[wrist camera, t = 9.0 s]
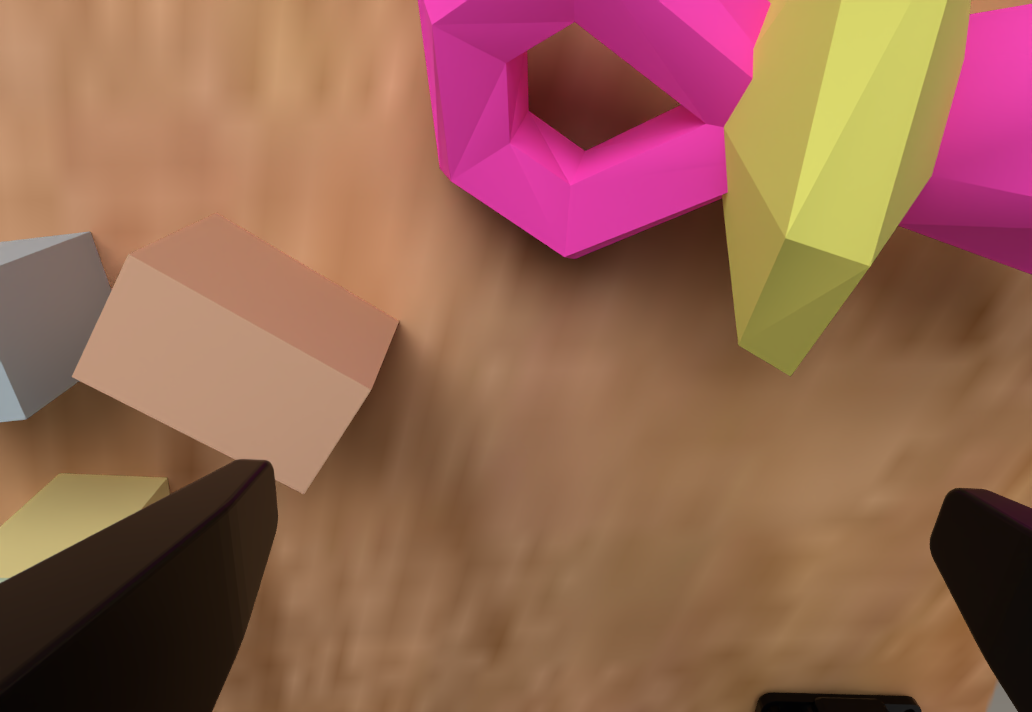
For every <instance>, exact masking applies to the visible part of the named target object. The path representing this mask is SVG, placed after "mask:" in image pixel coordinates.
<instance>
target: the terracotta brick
mask: <svg viewBox="0 0 1032 712" xmlns="http://www.w3.org/2000/svg"><path fill="white" fill-rule="evenodd" d="M398 323H399V321H398V320H397V319H395V318H393V317H392V316H390V315H388V314H386V313H385V312H383V311H381V310H380V309H378V308H376V307H375V306H373V305H371V304H370V303H368V302H366V301H365V300H363V299H361V298H359V297H358V296H356V295H354V294H353V293H351V292H349V291H348V290H346V289H344V288H343V287H341V286H339V285H338V284H336V283H334V282H332V281H331V280H329V279H327V278H326V277H324V276H322V275H321V274H319V273H317V272H316V271H314V270H312V269H311V268H309V267H307V266H305V265H304V264H302V263H300V262H299V261H297V260H295V259H294V258H292V257H290V256H289V255H287V254H285V253H284V252H282V251H280V250H278V249H277V248H275V247H273V246H272V245H270V244H268V243H267V242H265V241H263V240H262V239H260V238H258V237H257V236H255V235H253V234H251V233H250V232H248V231H246V230H245V229H243V228H241V227H240V226H238V225H236V224H235V223H233V222H231V221H230V220H228V219H226V218H224V217H223V216H221V215H219V214H218V213H214V214H212V215H210V216H208V217H206V218H204V219H201V220H199V221H197V222H195V223H193V224H191V225H189V226H187V227H184V228H182V229H180V230H178V231H176V232H174V233H172V234H170V235H168V236H165V237H163V238H161V239H159V240H157V241H155V242H153V243H151V244H149V245H146V246H144V247H142V248H140V249H138V250H136V251H134V252H132V253H129V254H128V256H127V258H126V260H125V262H124V265H123V267H122V269H121V271H120V273H119V275H118V278H117V280H116V282H115V284H114V286H113V288H112V291H111V293H110V295H109V297H108V299H107V301H106V304H105V306H104V308H103V310H102V312H101V314H100V317H99V319H98V321H97V323H96V325H95V327H94V330H93V332H92V334H91V336H90V338H89V340H88V343H87V345H86V347H85V349H84V351H83V353H82V356H81V358H80V360H79V362H78V364H77V366H76V369H75V371H74V373H73V375H72V377H73V378H75V379H77V380H79V381H81V382H83V383H85V384H87V385H89V386H91V387H93V388H95V389H97V390H99V391H100V392H102V393H104V394H106V395H108V396H110V397H112V398H114V399H116V400H118V401H120V402H122V403H124V404H126V405H128V406H130V407H132V408H134V409H136V410H138V411H140V412H142V413H144V414H146V415H148V416H150V417H152V418H154V419H156V420H158V421H160V422H162V423H164V424H166V425H168V426H170V427H172V428H174V429H176V430H178V431H180V432H182V433H184V434H186V435H188V436H190V437H192V438H193V439H195V440H197V441H199V442H201V443H203V444H205V445H207V446H209V447H211V448H213V449H215V450H217V451H219V452H221V453H223V454H225V455H227V456H229V457H231V458H233V459H235V460H238V459H257V460H268V461H269V462H270V463H271V464H272V466H273V469H274V475H275V480H277V481H279V482H281V483H283V484H285V485H286V486H288V487H290V488H292V489H294V490H296V491H298V492H300V493H302V494H305V492H306V490H307V489H308V487H309V486H310V484H311V483H312V481H313V480H314V478H315V476H316V475H317V473H318V472H319V470H320V469H321V467H322V466H323V464H324V462H325V461H326V459H327V458H328V456H329V455H330V453H331V452H332V450H333V449H334V447H335V445H336V444H337V442H338V441H339V439H340V438H341V436H342V435H343V433H344V431H345V430H346V428H347V427H348V425H349V424H350V422H351V421H352V419H353V417H354V416H355V414H356V413H357V411H358V410H359V408H360V407H361V405H362V404H363V402H364V400H365V399H366V397H367V396H368V394H369V393H370V391H371V389H372V387H373V384H374V382H375V380H376V377H377V375H378V372H379V370H380V367H381V365H382V362H383V360H384V357H385V355H386V352H387V350H388V348H389V345H390V343H391V340H392V338H393V335H394V333H395V330H396V328H397V325H398Z"/></svg>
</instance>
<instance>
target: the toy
mask: <svg viewBox="0 0 1032 712" xmlns="http://www.w3.org/2000/svg"><path fill="white" fill-rule="evenodd" d="M418 5H419V12H420V20H421V28H422V35H423V43H424V51H425V58H426V66H427V74H428V81H429V89H430V97H431V104H432V112H433V120H434V127H435V135H436V143H437V150H438V158H439V166H440V169H441V170H442V171H443V173H444V174H445V175H446V176H447V177H448V178H449V180H450V181H451V182H453V183H454V184H456V185H457V186H459V187H460V188H462V189H463V190H465V191H466V192H468V193H469V194H471V195H472V196H474V197H475V198H477V199H478V200H480V201H481V202H483V203H484V204H486V205H487V206H489V207H490V208H492V209H493V210H495V211H496V212H498V213H499V214H501V215H502V216H504V217H505V218H507V219H508V220H510V221H511V222H513V223H514V224H516V225H517V226H519V227H520V228H522V229H523V230H525V231H526V232H528V233H529V234H531V235H532V236H534V237H535V238H537V239H538V240H540V241H541V242H543V243H544V244H546V245H547V246H549V247H550V248H552V249H553V250H555V251H556V252H558V253H559V254H561V255H562V256H563V257H567V258H572V259H576V258H579V257H581V256H584V255H586V254H588V253H591V252H593V251H596V250H598V249H601V248H603V247H605V246H608V245H610V244H613V243H615V242H618V241H620V240H622V239H625V238H627V237H630V236H632V235H635V234H637V233H639V232H642V231H644V230H647V229H649V228H651V227H654V226H656V225H659V224H661V223H664V222H666V221H668V220H671V219H673V218H676V217H678V216H681V215H683V214H685V213H688V212H690V211H693V210H695V209H698V208H700V207H702V206H705V205H707V204H710V203H712V202H715V201H717V200H719V199H722V201H723V210H724V219H725V229H726V238H727V247H728V256H729V265H730V274H731V283H732V293H733V302H734V311H735V320H736V329H737V338H738V345H739V346H740V347H742V348H744V349H745V350H747V351H749V352H751V353H752V354H754V355H756V356H757V357H759V358H761V359H762V360H764V361H766V362H767V363H769V364H771V365H772V366H774V367H776V368H777V369H779V370H781V371H782V372H784V373H786V374H787V375H789V376H791V375H792V374H793V373H794V371H795V370H796V368H797V367H798V366H799V364H800V363H801V362H802V360H803V359H804V357H805V356H806V355H807V353H808V352H809V350H810V349H811V348H812V346H813V345H814V344H815V342H816V341H817V339H818V338H819V337H820V335H821V334H822V333H823V331H824V330H825V328H826V327H827V326H828V324H829V323H830V321H831V320H832V319H833V317H834V316H835V315H836V313H837V312H838V310H839V309H840V308H841V306H842V305H843V303H844V302H845V301H846V299H847V298H848V297H849V295H850V294H851V292H852V291H853V290H854V288H855V287H856V286H857V284H858V283H859V281H860V280H861V279H862V277H863V276H864V274H865V273H866V272H867V270H868V269H869V268H870V266H871V265H872V263H873V262H874V260H875V259H876V257H877V256H878V254H879V253H880V251H881V250H882V248H883V247H884V245H885V244H886V242H887V241H888V240H889V238H890V237H891V235H892V234H893V232H894V231H895V229H896V228H897V226H900V227H903V228H906V229H909V230H911V231H914V232H917V233H920V234H922V235H925V236H928V237H931V238H933V239H936V240H939V241H942V242H944V243H947V244H950V245H952V246H955V247H958V248H961V249H963V250H966V251H969V252H972V253H974V254H977V255H980V256H983V257H985V258H988V259H991V260H994V261H996V262H999V263H1002V264H1004V265H1007V266H1010V267H1013V268H1015V269H1018V270H1021V271H1024V272H1026V273H1029V274H1032V4H1028V5H1022V6H1016V7H1011V8H1005V9H999V10H993V11H987V12H981V13H975V14H970V7H971V0H418ZM574 22H575V23H577V24H578V25H579V26H581V27H582V28H583V29H585V30H586V31H587V32H588V33H590V34H591V35H592V36H594V37H595V38H596V39H597V40H599V41H600V42H601V43H603V44H604V45H605V46H606V47H608V48H609V49H610V50H612V51H613V52H614V53H615V54H617V55H618V56H619V57H621V58H622V59H623V60H625V61H626V62H627V63H628V64H630V65H631V66H632V67H634V68H635V69H636V70H637V71H639V72H640V73H641V74H643V75H644V76H645V77H646V78H648V79H649V80H650V81H652V82H653V83H654V84H655V85H657V86H658V87H659V88H661V89H662V90H663V91H664V92H666V93H667V94H668V95H670V96H671V97H672V98H674V99H675V100H676V101H677V102H679V103H680V104H681V105H680V106H678V107H675V108H673V109H671V110H669V111H667V112H665V113H663V114H661V115H659V116H657V117H655V118H653V119H651V120H648V121H646V122H644V123H642V124H640V125H638V126H636V127H634V128H632V129H630V130H628V131H626V132H624V133H621V134H619V135H617V136H615V137H613V138H611V139H609V140H607V141H605V142H603V143H601V144H599V145H597V146H594V147H592V148H590V149H588V150H586V151H584V150H583V149H582V148H580V147H579V146H577V145H576V144H575V143H573V142H572V141H570V140H569V139H567V138H566V137H565V136H563V135H562V134H560V133H559V132H558V131H556V130H555V129H553V128H552V127H551V126H549V125H548V124H546V123H545V122H544V121H542V120H541V119H539V118H538V117H537V116H535V115H534V114H532V113H531V112H530V111H529V104H528V61H527V50H529V49H530V48H532V47H534V46H535V45H537V44H539V43H540V42H542V41H544V40H545V39H547V38H549V37H550V36H552V35H554V34H555V33H557V32H559V31H560V30H562V29H564V28H565V27H567V26H569V25H570V24H572V23H574Z"/></svg>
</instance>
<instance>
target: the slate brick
mask: <svg viewBox="0 0 1032 712" xmlns="http://www.w3.org/2000/svg"><path fill="white" fill-rule="evenodd" d="M110 293H111V288H110V285H109V282H108V280H107V277H106V274H105V271H104V268H103V266H102V263H101V260H100V257H99V254H98V252H97V249H96V246H95V243H94V240H93V238H92V235H91V232H83V233H74V234H65V235H57V236H48V237H40V238H31V239H22V240H14V241H5V242H0V422H7V421H16V420H25V419H28V418H29V417H30V416H32V415H33V414H35V413H36V412H37V411H39V410H40V409H41V408H43V407H44V406H46V405H47V404H48V403H50V402H51V401H53V400H54V399H55V398H57V397H58V396H59V395H61V394H62V393H64V392H65V391H66V390H68V389H69V388H71V387H72V386H73V385H75V384H76V383H77V382H79V380H77V379H75V378H73V377H72V375H73V373H74V371H75V369H76V366H77V364H78V362H79V360H80V358H81V356H82V353H83V351H84V349H85V347H86V345H87V343H88V340H89V338H90V336H91V334H92V332H93V330H94V327H95V325H96V323H97V321H98V319H99V317H100V314H101V312H102V310H103V308H104V306H105V304H106V301H107V299H108V297H109V295H110Z"/></svg>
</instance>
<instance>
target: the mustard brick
mask: <svg viewBox="0 0 1032 712" xmlns="http://www.w3.org/2000/svg"><path fill="white" fill-rule="evenodd" d="M168 495H170V492H169V485H168V479H167V478H164V477H140V476H115V475H91V474H66V473H59V474H58V475H57V476H56V477H55V478H54V479H53V480H52V481H51V482H49V483H48V484H47V485H46V486H45V487H44V488H43V489H42V490H41V491H39V492H38V493H37V494H36V495H35V496H34V497H33V498H32V499H31V500H29V501H28V502H27V503H26V504H25V505H24V506H23V507H22V508H21V509H19V510H18V511H17V512H16V513H15V514H14V515H13V516H12V517H11V518H9V519H8V520H7V521H6V522H5V523H4V524H3V525H2V526H1V527H0V578H11V577H12V576H14V575H16V574H18V573H20V572H22V571H24V570H26V569H28V568H30V567H32V566H34V565H36V564H37V563H39V562H41V561H43V560H45V559H47V558H49V557H51V556H53V555H55V554H57V553H59V552H60V551H62V550H64V549H66V548H68V547H70V546H72V545H74V544H76V543H78V542H80V541H82V540H84V539H85V538H87V537H89V536H91V535H93V534H95V533H97V532H99V531H101V530H103V529H105V528H107V527H109V526H110V525H112V524H114V523H116V522H118V521H120V520H122V519H124V518H126V517H128V516H130V515H132V514H133V513H135V512H137V511H139V510H141V509H143V508H145V507H147V506H149V505H151V504H153V503H155V502H157V501H158V500H160V499H162V498H164V497H166V496H168Z"/></svg>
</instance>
